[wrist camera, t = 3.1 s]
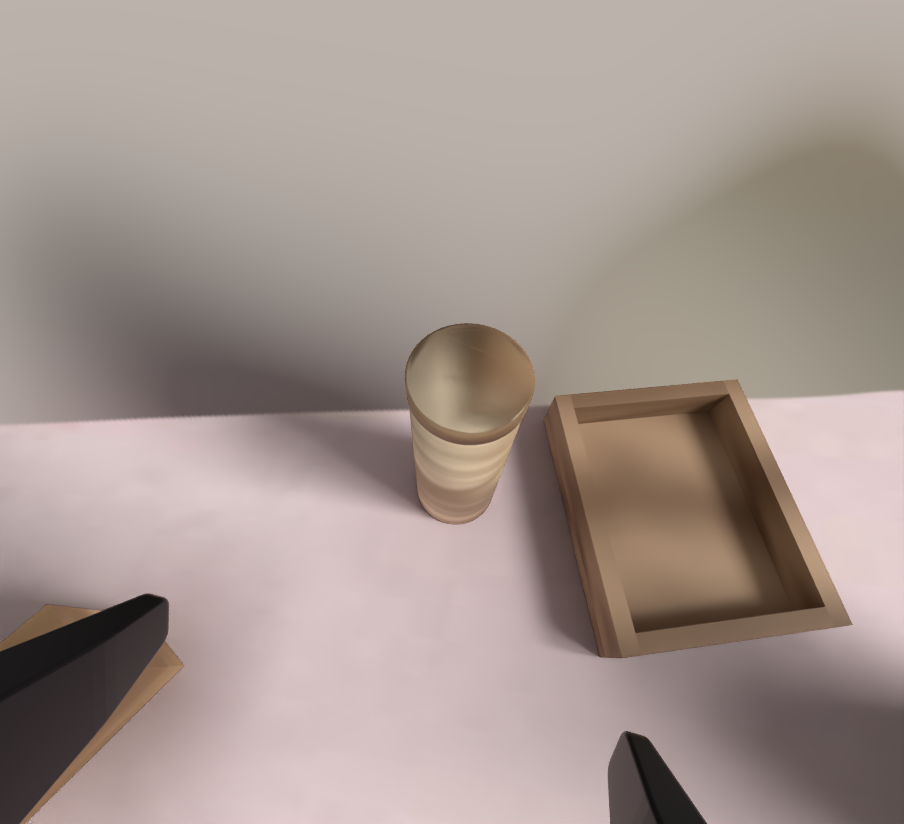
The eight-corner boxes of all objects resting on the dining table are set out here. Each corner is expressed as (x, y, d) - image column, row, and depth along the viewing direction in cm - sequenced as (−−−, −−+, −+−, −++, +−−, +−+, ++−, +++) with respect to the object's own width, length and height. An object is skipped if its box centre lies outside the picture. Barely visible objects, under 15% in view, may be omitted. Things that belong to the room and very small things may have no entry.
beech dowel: (459, 542, 23) (478, 461, 13) (399, 489, 24) (377, 379, 14) (509, 483, 25) (560, 371, 15) (451, 435, 26) (462, 303, 16)
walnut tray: (804, 628, 22) (852, 625, 19) (599, 657, 21) (622, 658, 18) (709, 404, 27) (737, 379, 25) (543, 420, 26) (555, 396, 24)
